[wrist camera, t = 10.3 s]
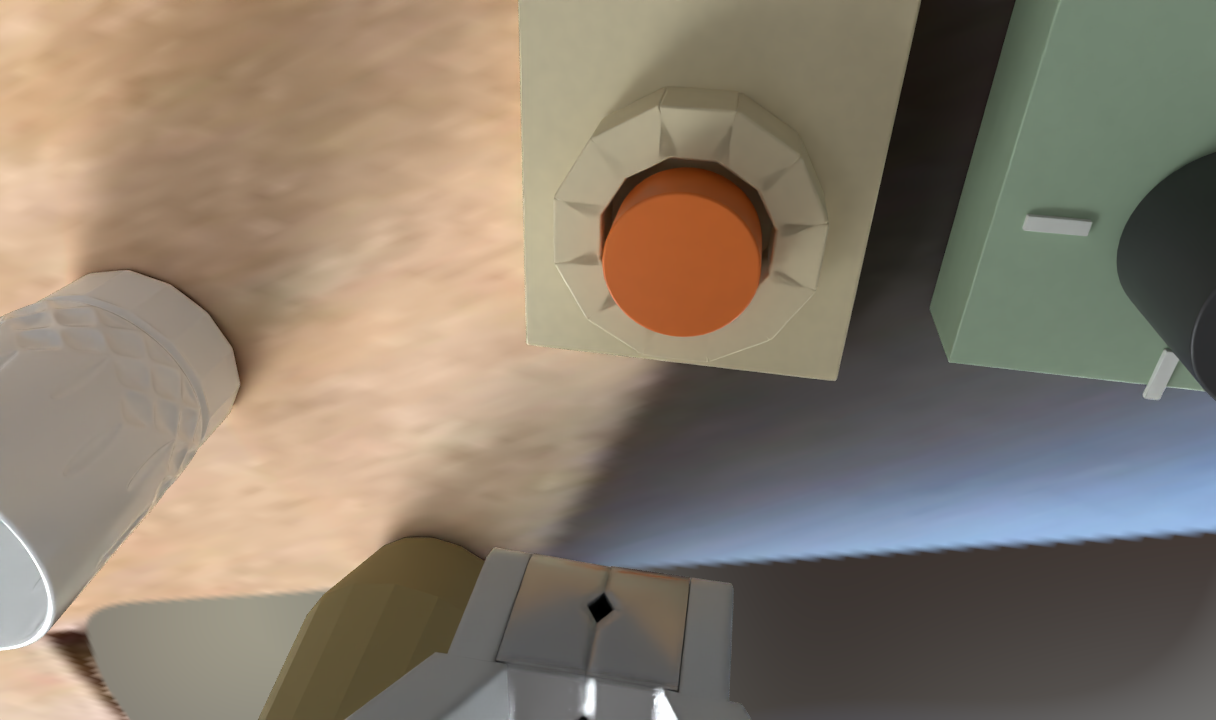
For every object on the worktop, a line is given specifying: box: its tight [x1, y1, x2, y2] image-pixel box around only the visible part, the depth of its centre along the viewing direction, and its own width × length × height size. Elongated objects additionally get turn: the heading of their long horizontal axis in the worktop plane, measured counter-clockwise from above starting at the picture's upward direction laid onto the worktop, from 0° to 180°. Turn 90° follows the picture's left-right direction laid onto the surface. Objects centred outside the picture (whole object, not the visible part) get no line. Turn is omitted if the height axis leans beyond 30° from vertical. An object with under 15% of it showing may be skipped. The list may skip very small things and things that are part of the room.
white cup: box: [0, 270, 240, 650], centre depth 25 cm, size 8×8×10 cm
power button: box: [602, 167, 762, 337], centre depth 19 cm, size 4×4×2 cm
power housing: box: [518, 0, 921, 381], centre depth 20 cm, size 11×9×4 cm
